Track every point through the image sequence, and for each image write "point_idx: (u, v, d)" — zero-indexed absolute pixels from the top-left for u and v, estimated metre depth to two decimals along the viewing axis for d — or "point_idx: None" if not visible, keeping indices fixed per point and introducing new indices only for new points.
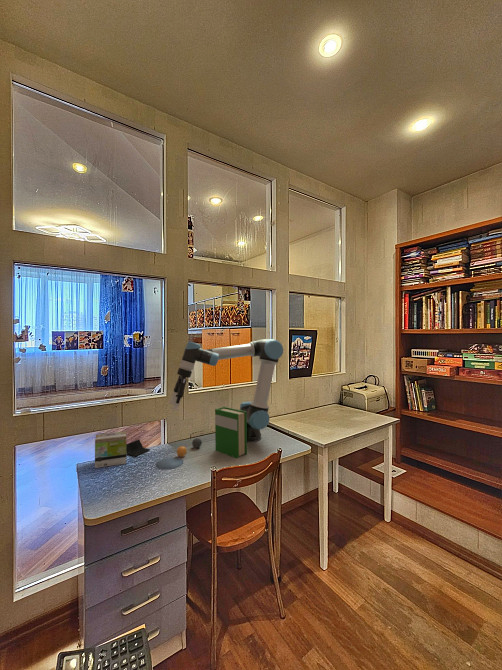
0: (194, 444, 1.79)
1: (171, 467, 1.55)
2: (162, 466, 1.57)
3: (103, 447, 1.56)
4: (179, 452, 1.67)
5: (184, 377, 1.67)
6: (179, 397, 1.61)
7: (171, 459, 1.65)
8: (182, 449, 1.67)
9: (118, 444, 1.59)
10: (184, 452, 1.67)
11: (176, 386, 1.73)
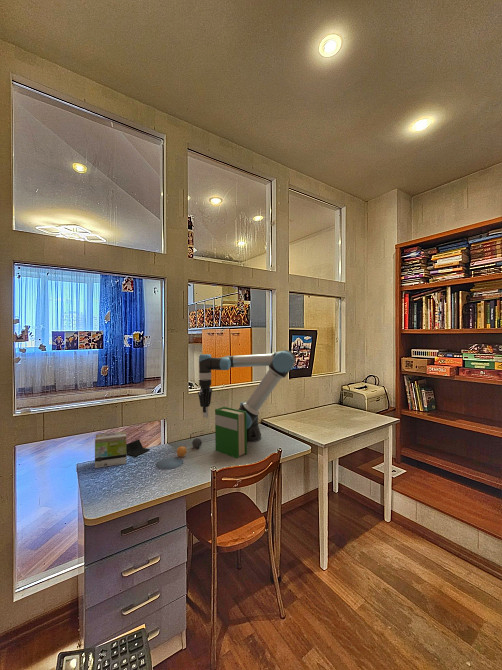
0: (194, 444, 1.79)
1: (171, 467, 1.55)
2: (162, 466, 1.57)
3: (103, 447, 1.56)
4: (179, 452, 1.67)
5: (202, 387, 1.87)
6: (203, 407, 1.88)
7: (171, 459, 1.65)
8: (182, 449, 1.67)
9: (118, 444, 1.59)
10: (184, 452, 1.67)
11: None
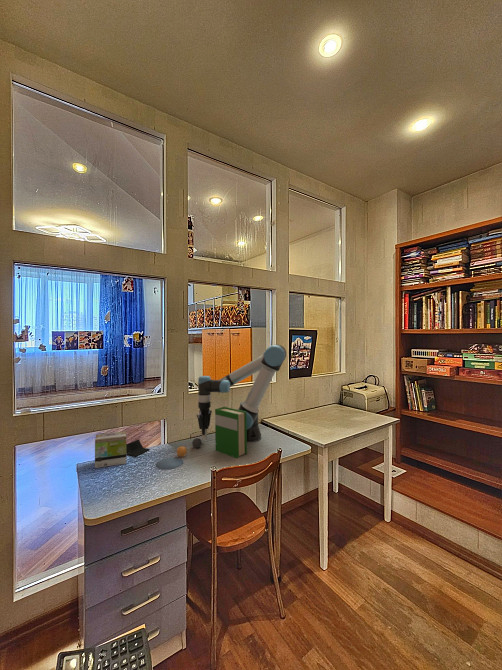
0: (194, 444, 1.79)
1: (171, 467, 1.55)
2: (162, 466, 1.57)
3: (103, 447, 1.56)
4: (179, 452, 1.67)
5: (201, 409, 1.86)
6: (202, 429, 1.88)
7: (171, 459, 1.65)
8: (182, 449, 1.67)
9: (118, 444, 1.59)
10: (184, 452, 1.67)
11: None
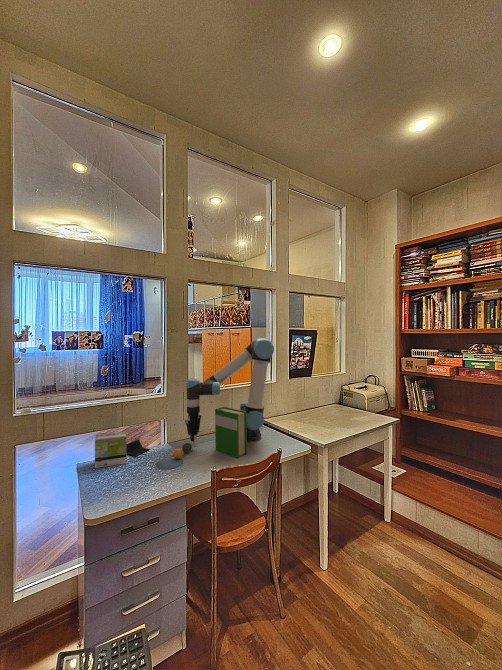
0: None
1: (171, 467, 1.55)
2: (162, 466, 1.57)
3: (103, 447, 1.56)
4: (177, 458, 1.65)
5: (189, 414, 1.75)
6: None
7: (171, 459, 1.65)
8: (177, 456, 1.64)
9: (118, 444, 1.59)
10: (181, 455, 1.65)
11: None
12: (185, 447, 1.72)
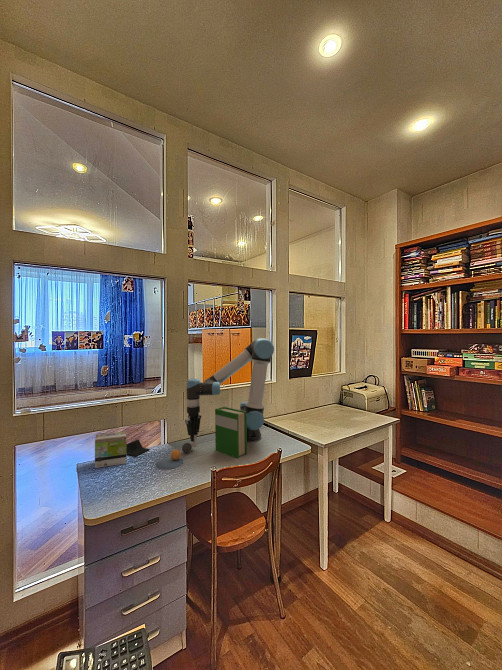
0: None
1: (171, 467, 1.55)
2: (162, 466, 1.57)
3: (103, 447, 1.56)
4: None
5: (189, 414, 1.75)
6: None
7: (171, 459, 1.65)
8: (176, 459, 1.63)
9: (118, 444, 1.59)
10: (179, 457, 1.64)
11: None
12: (185, 447, 1.72)
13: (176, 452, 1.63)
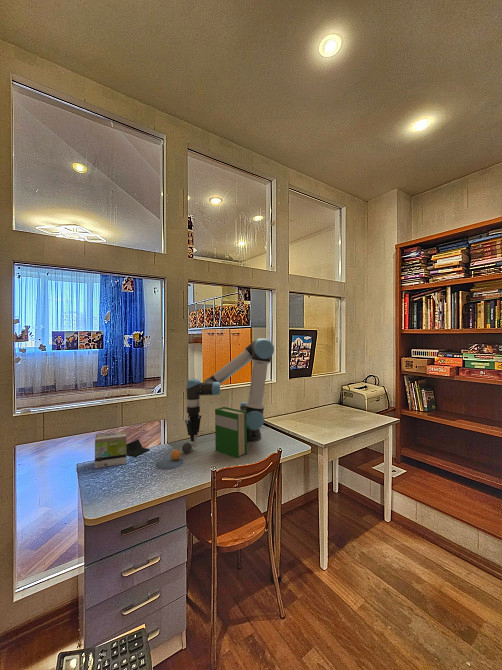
0: None
1: (171, 467, 1.55)
2: (162, 466, 1.57)
3: (103, 447, 1.56)
4: None
5: (189, 414, 1.75)
6: None
7: (171, 459, 1.65)
8: (176, 459, 1.63)
9: (118, 444, 1.59)
10: (179, 457, 1.64)
11: None
12: (185, 447, 1.72)
13: (176, 452, 1.63)
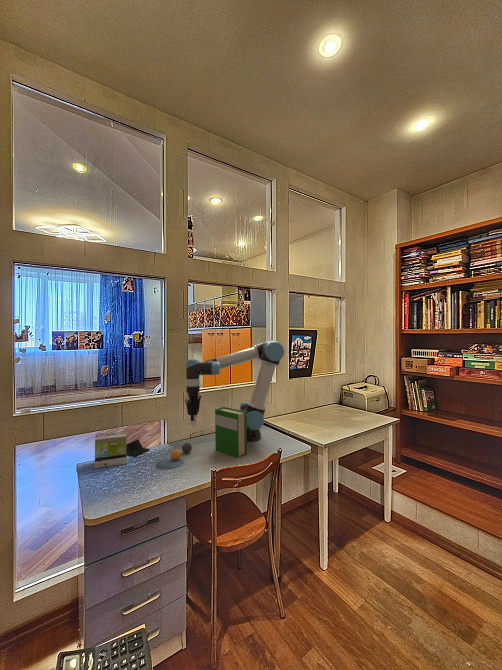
0: None
1: (171, 467, 1.55)
2: (162, 466, 1.57)
3: (103, 447, 1.56)
4: None
5: (189, 394, 1.75)
6: (191, 415, 1.77)
7: (171, 459, 1.65)
8: (176, 459, 1.63)
9: (118, 444, 1.59)
10: (179, 457, 1.64)
11: None
12: (185, 447, 1.72)
13: (176, 452, 1.63)
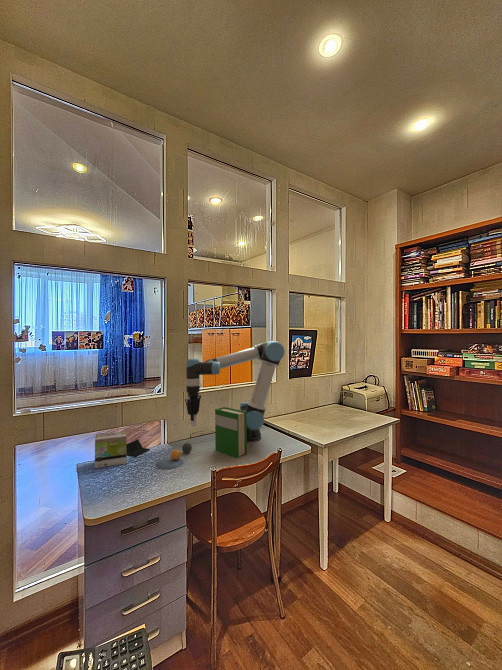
0: None
1: (171, 467, 1.55)
2: (162, 466, 1.57)
3: (103, 447, 1.56)
4: None
5: (189, 393, 1.75)
6: (191, 415, 1.77)
7: (171, 459, 1.65)
8: (176, 459, 1.63)
9: (118, 444, 1.59)
10: (179, 457, 1.64)
11: None
12: (185, 447, 1.72)
13: (176, 452, 1.63)
